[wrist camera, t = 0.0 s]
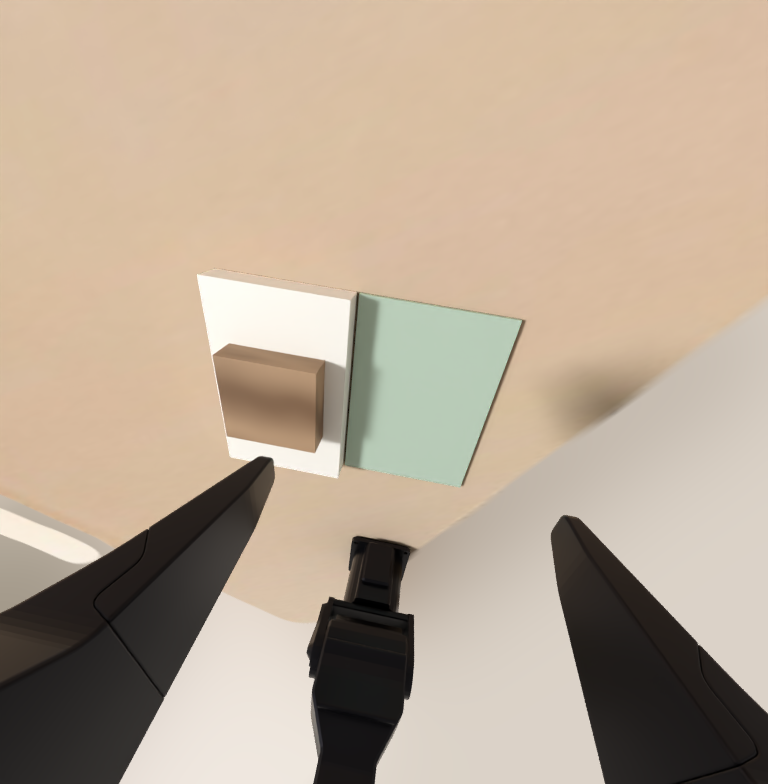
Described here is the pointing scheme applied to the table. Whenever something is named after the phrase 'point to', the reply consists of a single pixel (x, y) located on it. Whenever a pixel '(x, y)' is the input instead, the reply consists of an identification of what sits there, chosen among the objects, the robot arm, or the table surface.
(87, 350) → the table surface
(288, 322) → the plate
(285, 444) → the tile
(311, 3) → the table surface
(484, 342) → the mat
